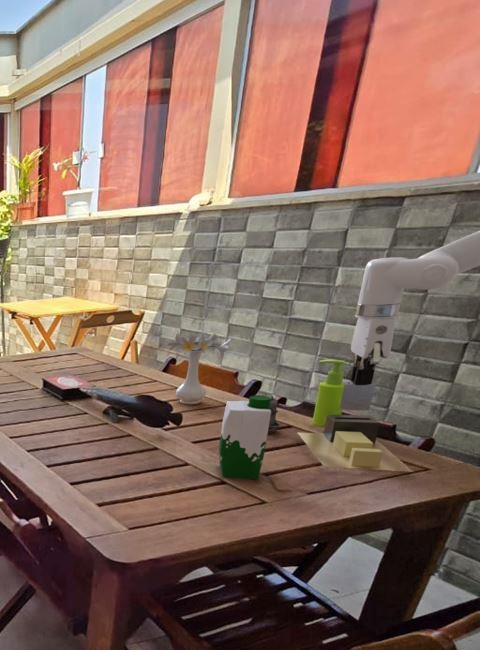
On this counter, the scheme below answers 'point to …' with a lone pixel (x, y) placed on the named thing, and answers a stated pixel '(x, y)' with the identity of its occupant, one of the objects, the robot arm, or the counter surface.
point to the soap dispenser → (329, 394)
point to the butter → (350, 442)
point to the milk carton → (244, 437)
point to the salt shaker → (273, 416)
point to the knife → (356, 395)
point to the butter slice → (365, 457)
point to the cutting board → (334, 459)
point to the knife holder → (351, 426)
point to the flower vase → (195, 363)
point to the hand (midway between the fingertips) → (360, 382)
